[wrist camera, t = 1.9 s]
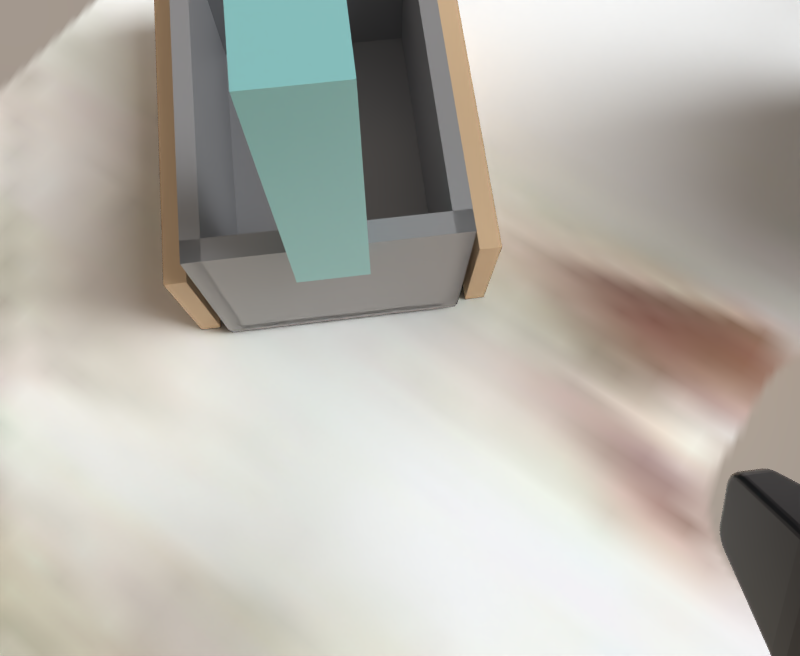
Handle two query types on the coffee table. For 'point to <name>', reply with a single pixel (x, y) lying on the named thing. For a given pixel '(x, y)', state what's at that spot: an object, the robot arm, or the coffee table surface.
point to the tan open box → (471, 138)
